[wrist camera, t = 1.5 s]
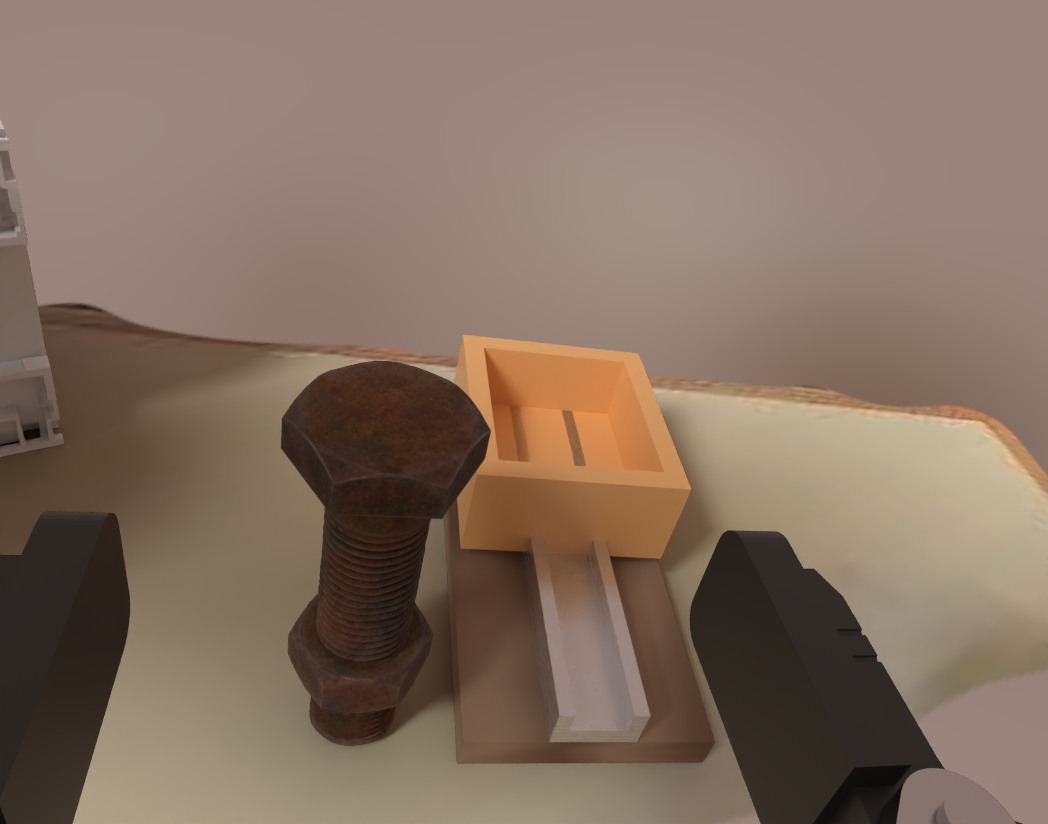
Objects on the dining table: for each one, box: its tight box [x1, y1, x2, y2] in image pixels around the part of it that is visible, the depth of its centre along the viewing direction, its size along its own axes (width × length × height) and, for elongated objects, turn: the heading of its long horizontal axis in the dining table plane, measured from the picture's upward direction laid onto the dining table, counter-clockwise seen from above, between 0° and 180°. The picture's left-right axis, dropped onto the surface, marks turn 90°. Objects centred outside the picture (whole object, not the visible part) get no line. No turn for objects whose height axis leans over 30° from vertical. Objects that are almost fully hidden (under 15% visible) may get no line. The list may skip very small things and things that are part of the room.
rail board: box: [444, 499, 715, 763], centre depth 39 cm, size 10×20×2 cm, turn 7°
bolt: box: [281, 361, 491, 746], centre depth 27 cm, size 6×5×15 cm
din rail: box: [510, 405, 650, 742], centre depth 38 cm, size 4×20×2 cm, turn 7°
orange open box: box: [454, 335, 692, 559], centre depth 40 cm, size 10×10×4 cm
